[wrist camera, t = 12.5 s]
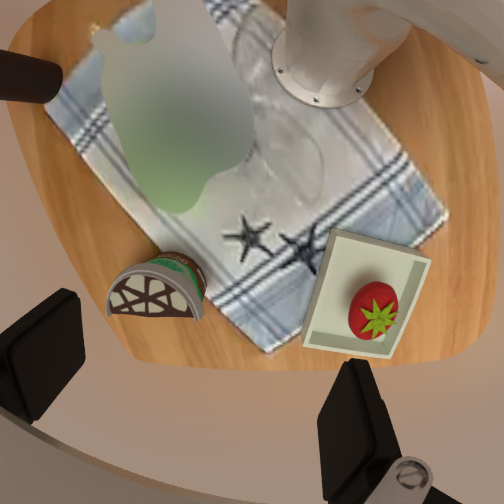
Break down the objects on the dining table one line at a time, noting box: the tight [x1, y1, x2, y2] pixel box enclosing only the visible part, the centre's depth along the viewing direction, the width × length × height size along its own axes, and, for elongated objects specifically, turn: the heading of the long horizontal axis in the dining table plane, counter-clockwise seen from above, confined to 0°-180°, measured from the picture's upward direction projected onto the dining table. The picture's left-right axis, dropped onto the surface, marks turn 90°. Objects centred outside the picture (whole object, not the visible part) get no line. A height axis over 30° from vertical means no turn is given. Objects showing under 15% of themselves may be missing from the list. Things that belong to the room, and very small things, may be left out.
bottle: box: [0, 50, 62, 103], centre depth 25 cm, size 7×7×20 cm
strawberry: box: [348, 281, 399, 340], centre depth 35 cm, size 6×8×10 cm
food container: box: [106, 252, 207, 323], centre depth 37 cm, size 12×6×10 cm, turn 93°
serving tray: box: [301, 228, 432, 359], centre depth 39 cm, size 15×13×4 cm
